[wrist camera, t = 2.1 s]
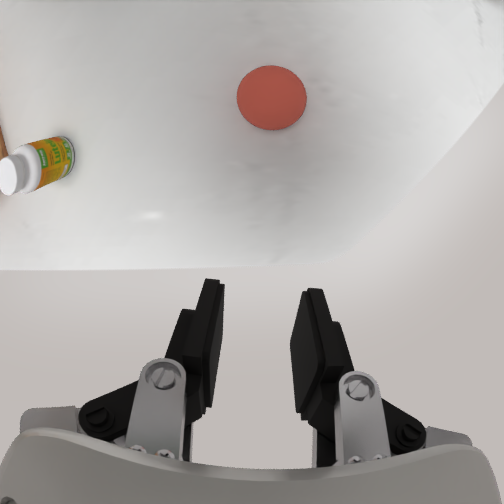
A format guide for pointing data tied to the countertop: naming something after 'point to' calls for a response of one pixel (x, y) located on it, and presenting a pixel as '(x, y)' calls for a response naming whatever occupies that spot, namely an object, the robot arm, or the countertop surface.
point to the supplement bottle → (36, 165)
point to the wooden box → (2, 147)
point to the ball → (271, 97)
